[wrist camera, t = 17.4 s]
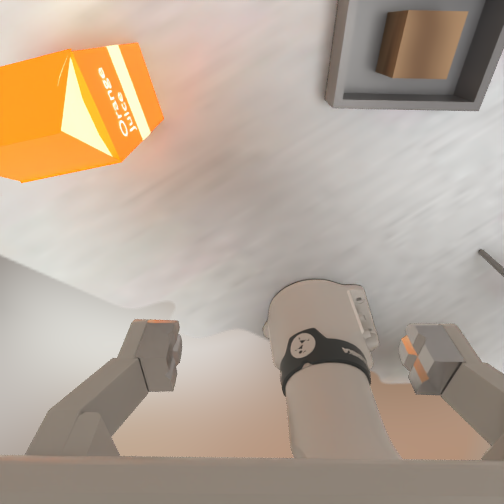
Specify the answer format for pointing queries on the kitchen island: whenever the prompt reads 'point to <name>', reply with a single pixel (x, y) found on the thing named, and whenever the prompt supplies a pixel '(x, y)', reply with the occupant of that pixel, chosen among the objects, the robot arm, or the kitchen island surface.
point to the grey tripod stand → (492, 262)
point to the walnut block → (420, 43)
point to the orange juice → (74, 111)
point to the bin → (405, 89)
